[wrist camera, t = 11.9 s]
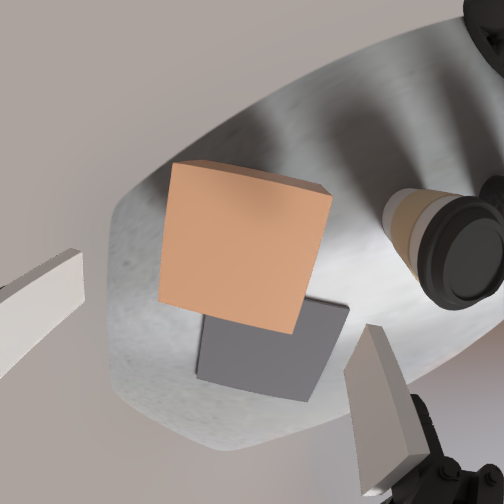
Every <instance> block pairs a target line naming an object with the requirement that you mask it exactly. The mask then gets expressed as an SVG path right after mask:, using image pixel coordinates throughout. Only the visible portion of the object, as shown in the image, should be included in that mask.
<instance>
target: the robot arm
mask: <svg viewBox="0 0 504 504" xmlns="http://www.w3.org/2000/svg"><path fill="white" fill-rule="evenodd" d="M463 12H464V18H465V22H466V25H467V27H468V30H469V32H470V34H471V36H472V38H473V40H474V42H475V44H476V46H477V47H478V49H479V50H480V52H481V53H482V55H483V56H484V57H485V59H486V60H487V61H488V63H489V64H490V65H491V66H492V67H493V68H494V69H495V70H496V71H497V72H498V73H499V74H500V75H501V76H502V77H503V78H504V0H464V4H463ZM84 301H85V297H84V284H83V264H82V251H78V250H75V249H73V248H70V249H68V250H66V251H64V252H62V253H60V254H59V255H57V256H55V257H53V258H52V259H50V260H48V261H46V262H45V263H43V264H41V265H39V266H38V267H36V268H34V269H33V270H31V271H29V272H28V273H26V274H24V275H23V276H21V277H19V278H18V279H16V280H14V281H13V282H11V283H10V284H8V285H6V286H3V287H1V288H0V379H1V378H2V377H3V376H4V375H5V374H6V373H7V372H8V371H9V370H10V369H11V368H12V367H13V366H14V365H15V364H16V363H17V362H18V361H19V360H20V359H21V358H22V357H23V356H24V355H25V354H26V353H27V352H28V351H29V350H31V349H32V348H33V347H34V346H35V345H36V344H37V343H38V342H39V341H40V340H41V339H43V338H44V337H45V336H46V335H47V334H48V333H49V332H50V331H51V330H52V329H54V328H55V327H56V326H57V325H58V324H59V323H60V322H61V321H63V320H64V319H65V318H66V317H67V316H68V315H69V314H71V313H72V312H73V311H74V310H75V309H76V308H78V307H79V306H80V305H81V304H82V303H84ZM344 376H345V381H346V387H347V393H348V398H349V404H350V411H351V417H352V423H353V430H354V437H355V444H356V452H357V459H358V468H359V476H360V485H361V496H373V495H382V494H383V493H385V492H386V491H387V490H389V489H390V488H391V489H392V496H391V497H389V498H388V499H386V500H385V501H384V502H382V503H381V504H503V500H504V477H503V474H502V472H501V470H500V469H499V468H498V467H497V466H495V465H493V464H486V465H484V466H483V467H482V468H481V469H480V470H478V471H477V472H472V471H465V470H461V467H460V465H459V464H458V462H456V461H455V460H454V459H453V458H450V457H447V456H444V454H443V451H442V448H441V445H440V442H439V439H438V436H437V434H436V431H435V428H434V425H432V420H431V418H430V417H429V413H428V410H427V407H426V405H425V403H424V402H423V401H422V400H421V398H420V397H419V396H418V395H417V394H410V393H409V390H408V388H407V385H406V383H405V380H404V377H403V375H402V372H401V370H400V367H399V365H398V363H397V360H396V358H395V355H394V353H393V351H392V348H391V346H390V344H389V341H388V339H387V337H386V335H385V332H384V330H383V328H382V327H381V326H376V325H371V324H366V326H365V328H364V331H363V333H362V335H361V337H360V339H359V341H358V343H357V345H356V347H355V350H354V352H353V354H352V356H351V358H350V360H349V362H348V364H347V365H346V367H345V369H344Z"/></svg>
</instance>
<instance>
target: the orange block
mask: <svg viewBox="0 0 504 504" xmlns="http://www.w3.org/2000/svg"><path fill="white" fill-rule="evenodd" d="M332 199H333V196H332V195H331V194H330V193H329V192H328V191H327V190H326V189H325V188H324V187H323V186H322V185H320V184H316V183H312V182H308V181H304V180H300V179H296V178H291V177H287V176H283V175H278V174H274V173H269V172H265V171H260V170H255V169H251V168H246V167H241V166H236V165H230V164H225V163H220V162H214V161H208V160H203V159H201V160H192V161H183V162H174V163H173V166H172V173H171V180H170V186H169V194H168V201H167V209H166V217H165V226H164V235H163V245H162V256H161V268H160V281H159V297H158V301H159V302H162V303H166V304H169V305H173V306H176V307H180V308H183V309H187V310H191V311H194V312H198V313H202V314H206V315H210V316H213V317H217V318H221V319H225V320H229V321H233V322H238V323H242V324H246V325H250V326H255V327H259V328H263V329H268V330H273V331H277V332H282V333H287V334H292V333H293V330H294V327H295V324H296V321H297V318H298V315H299V312H300V309H301V306H302V303H303V300H304V297H305V293H306V290H307V287H308V284H309V280H310V277H311V274H312V271H313V267H314V264H315V261H316V257H317V254H318V250H319V247H320V243H321V240H322V236H323V233H324V229H325V225H326V222H327V218H328V214H329V210H330V207H331V203H332Z"/></svg>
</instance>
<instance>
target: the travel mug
mask: <svg viewBox="0 0 504 504" xmlns="http://www.w3.org/2000/svg"><path fill="white" fill-rule="evenodd" d="M479 198H481V199H483V200H485V201H486V202H487V203H489V204H491V205H493V206H494V207H495V208H496V209H497V210H498V211H499V212H500V214H501V216H502V217H503V219H504V176H493V177H491V178H489V179H488V180H487V181H486V182H485V184H484V185H483V187H482V190H481V192H480V197H479Z"/></svg>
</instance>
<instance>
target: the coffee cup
mask: <svg viewBox="0 0 504 504" xmlns="http://www.w3.org/2000/svg"><path fill="white" fill-rule="evenodd" d="M382 224H383V229H384V232H385V234H386V236H387V237H388V238H389V240H390V241H391V242H392V244H393V246H394V248H395V250H396V251H397V253H398V254H399V256H400V257H401V258H402V260H403V261H404V262H405V264H406V265H407V267H408V268H409V270H410V271H411V272H412V274H413V275H414V277H415V278H416V279H417V281H418V282H419V283H420V284H421V287H422V289H423V291H424V292H425V294H426V295H427V296H428V297H429V298H430V299H431V300H432V301H434V303H435V304H437V305H438V306H439V307H441V308H443V309H446V310H462V309H465V308H468V307H470V306H472V305H474V304H476V303H477V302H479V301H481V300H482V299H484V298H487V297H489V296H491V295H493V294H494V293H495V292H496V291H497V290H498V289H499V287H500V286H501V284H502V282H503V280H504V219H503V217H502V216H501V214H500V212H499V211H498V210H497V209H496V208H495V207H494V206H493V205H491V204H489V203H487V202H486V201H485V200H483V199H481V198H478V197H474V196H462V195H459V194H453V193H447V192H441V191H435V190H429V189H422V190H420V189H414V188H406V189H402V190H399V191H398V192H396V193H395V194H393V195H392V196H391V197H390V199H389V200H388V201H387V203H386V205H385V207H384V210H383V215H382Z"/></svg>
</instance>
